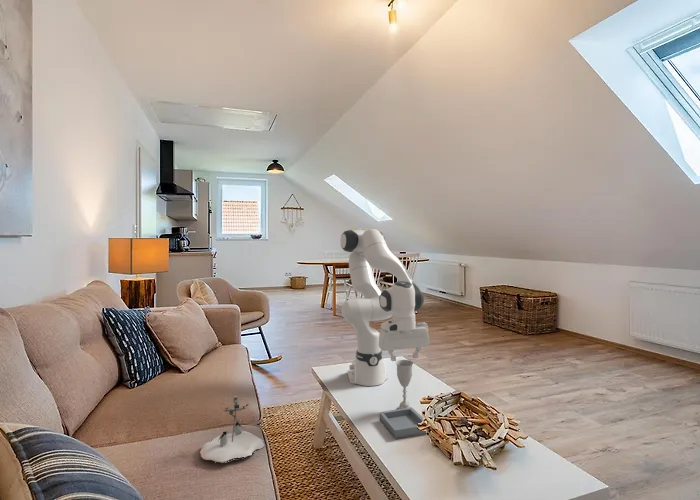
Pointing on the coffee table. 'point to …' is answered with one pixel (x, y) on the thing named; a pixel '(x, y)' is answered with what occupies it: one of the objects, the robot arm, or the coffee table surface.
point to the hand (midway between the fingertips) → (404, 359)
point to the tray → (401, 422)
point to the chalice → (404, 378)
